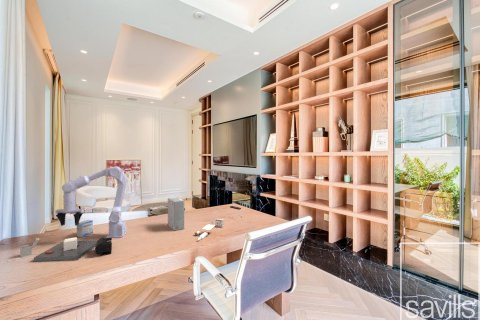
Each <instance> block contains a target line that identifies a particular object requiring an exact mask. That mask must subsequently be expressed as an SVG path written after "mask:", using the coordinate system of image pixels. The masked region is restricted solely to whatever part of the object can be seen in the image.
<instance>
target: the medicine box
mask: <svg viewBox="0 0 480 320" xmlns="http://www.w3.org/2000/svg"><path fill="white" fill-rule="evenodd" d="M93 233H94V220H93V219H86V220H83V221H79V224H78V225H76V237H77V238H78V237H79V238H84V237H86V236H89V235H92V234H93Z"/></svg>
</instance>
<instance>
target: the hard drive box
mask: <svg viewBox="0 0 480 320" xmlns="http://www.w3.org/2000/svg"><path fill="white" fill-rule="evenodd" d="M167 226H169V228H171V229H172V231H179V230H184V229H185V200H184V199H181V198H179V197H168V198H167Z"/></svg>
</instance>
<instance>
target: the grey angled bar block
mask: <svg viewBox="0 0 480 320" xmlns="http://www.w3.org/2000/svg"><path fill="white" fill-rule="evenodd" d="M39 241H40V238H39V237H36V238H35V240H34V241H33V242H32V245H29V244H26V245H22V246H21V247H20V249H19V256H20V258H25V257H30V256H32V255H33V248H35V247H36V246H37V244H38V243H39Z"/></svg>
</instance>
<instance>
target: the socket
mask: <svg viewBox="0 0 480 320" xmlns="http://www.w3.org/2000/svg"><path fill="white" fill-rule="evenodd" d="M97 241H98V239H91V240H88V239H87V240H86V239H85V240H77V248H76V249H74V250H73V249H71V250H66V251H64V240H62V241H61V242H59V243H57V244H55V245H54V246H53V247H50V248H49V249H47V250H45V251H43V252H41V253H39V254H38V255H36V256H34V257H33V262H54V261H55V262H57V261H59V262H60V261H63V262H64V261H79V260H80V259H81V258H83V257H84V256H85V255H87V254H88V253H89V252H91V251H92V250H93V249H95V247H96V244H97Z"/></svg>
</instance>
